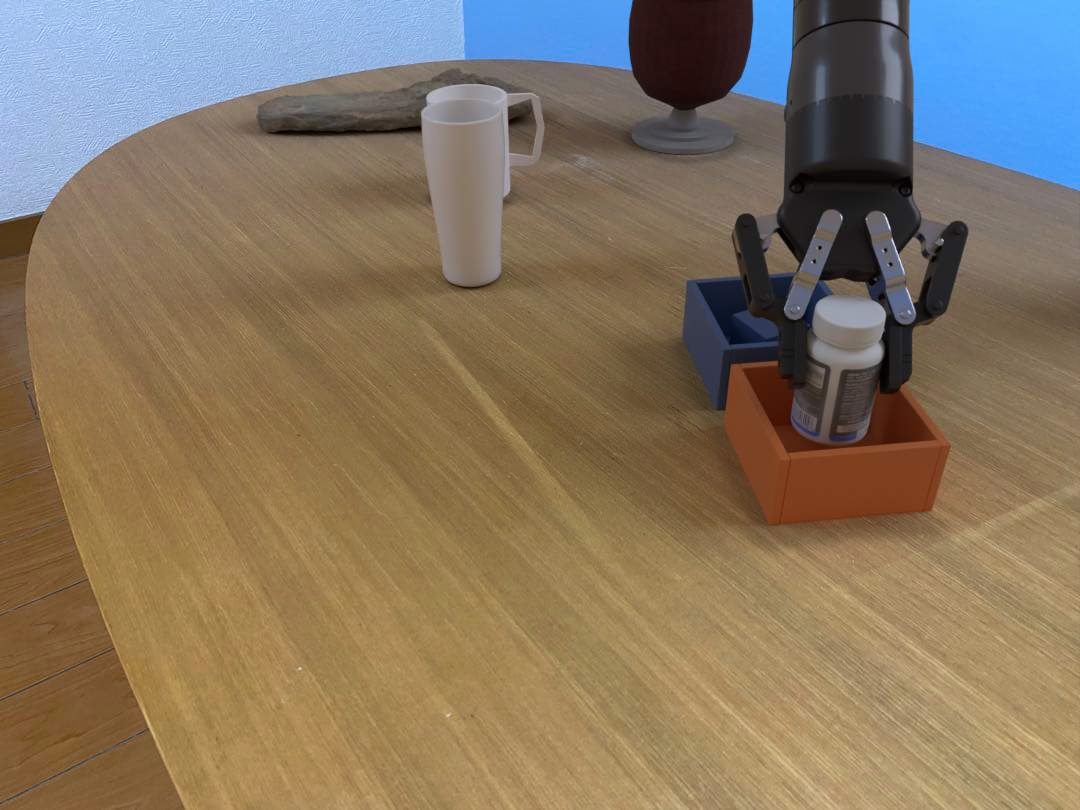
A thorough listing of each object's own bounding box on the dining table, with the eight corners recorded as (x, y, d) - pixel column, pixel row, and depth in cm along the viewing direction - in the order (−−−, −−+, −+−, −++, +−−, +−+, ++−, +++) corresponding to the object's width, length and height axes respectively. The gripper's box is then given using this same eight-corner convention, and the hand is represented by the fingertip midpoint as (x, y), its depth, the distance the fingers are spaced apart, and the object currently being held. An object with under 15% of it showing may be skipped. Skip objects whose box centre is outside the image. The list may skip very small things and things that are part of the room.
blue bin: (805, 333, 76) (816, 270, 72) (854, 405, 67) (869, 338, 64) (681, 342, 75) (686, 279, 71) (715, 416, 66) (723, 349, 63)
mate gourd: (666, 165, 106) (678, -27, 94) (603, 129, 116) (607, -48, 104) (775, 141, 112) (799, -43, 100) (706, 109, 122) (721, -61, 110)
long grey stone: (268, 124, 124) (258, 155, 116) (258, 84, 120) (246, 113, 113) (532, 97, 125) (539, 126, 117) (529, 57, 121) (536, 84, 114)
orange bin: (864, 420, 66) (879, 352, 63) (930, 517, 57) (951, 444, 54) (722, 432, 65) (730, 363, 62) (768, 532, 57) (780, 459, 53)
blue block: (769, 346, 73) (775, 301, 70) (803, 371, 70) (811, 325, 68) (726, 359, 71) (732, 313, 69) (759, 385, 68) (766, 338, 66)
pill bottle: (869, 411, 60) (896, 296, 55) (863, 455, 57) (892, 336, 52) (794, 398, 62) (814, 284, 57) (784, 439, 58) (804, 322, 53)
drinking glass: (424, 289, 83) (407, 121, 74) (448, 256, 88) (435, 95, 79) (498, 297, 81) (489, 126, 73) (518, 262, 87) (512, 99, 78)
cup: (548, 201, 98) (547, 105, 92) (433, 206, 98) (425, 110, 92) (542, 172, 105) (541, 81, 99) (434, 177, 104) (427, 85, 98)
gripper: (738, 86, 55) (727, 371, 52) (992, 91, 54) (994, 384, 51) (724, 143, 62) (714, 394, 60) (947, 148, 61) (947, 406, 58)
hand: (843, 388), depth 55 cm, fingers closed on pill bottle, 4 cm apart
